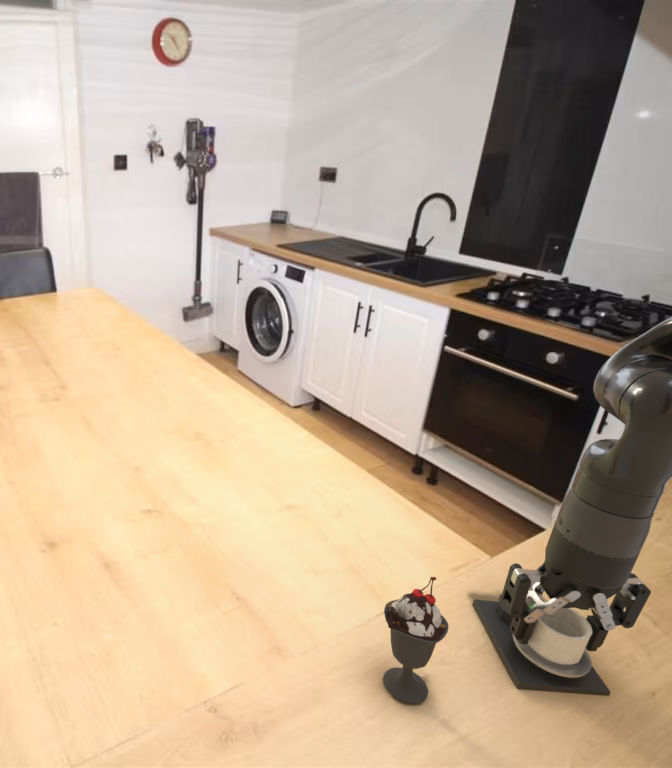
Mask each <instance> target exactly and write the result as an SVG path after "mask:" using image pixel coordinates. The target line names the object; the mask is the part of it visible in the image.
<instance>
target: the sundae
mask: <svg viewBox="0 0 672 768" xmlns="http://www.w3.org/2000/svg"><path fill="white" fill-rule="evenodd" d="M436 580H437V577H436V576H430V578H429V581H428V584H427V585H426V586H424V587H423V588H422V589H420V588H414V589H413V590H412V592H409V593H405V594H403V595H402V596H401V597H399V599H393V600H390V601H388V602H387V603H386V604H385V606H384V610H383V614H384V619H385V622H386V624H387V627H388V628H389V629H390V645H391V646H390V647H391V653H392V655H393V657H394V658H395V660H396V661H397V662H398V663H399V664H401V665H402V667H391V668H388V669H387V670H386V671H385V672H384V673H383V676H382V682H383V685H384V688H385V689H386V691H388V693H389V694H390V695H391V696H392V697H394V699H395V698H396V699H397V700H399V701H401V702H404V703H406V704H419V703H422V702H424V701H425V700H426V699H427V698H428V695H429V689H428V685H427V684H426V682H425V680H424V679H423V678H422V677H421V676H420V675H419V674H417V673H415V672H414V670H418V669H422V668H425V667H426V666H427V665H428V663H429V662H430V659H431V658H432V656H433V653H434V650H435V648H436V645H437V643H440V642H441V641H443V639H444V638H446V635H447V634H448V632H449V622H448V621H447V619H446V618H445V617H444V616H443V614H442V613H441V611H440V608H439V607H438V605H436V602H437V599H436V597H435V596H434V595H433V587H434V586H433V585H434V581H436ZM430 584H431V585H430ZM429 586H430V591H429V593H425V594H424V592H423V591H424V590H426V589H427V588H428V587H429Z"/></svg>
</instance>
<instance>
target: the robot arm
mask: <svg viewBox="0 0 672 768" xmlns="http://www.w3.org/2000/svg"><path fill="white" fill-rule="evenodd" d="M592 393H593V397H594V399H595V401H596V403H598V405H599V406H600V407H601V408H602V409H603V410H605V411H606V412H608V413H609V414H610V415H611V416H613V417H614V418H615V419H617V420H618V421H620V422H621V423H622V424H624V429H623V432H622V435H621V436H620V437H619V439H618V438H617V439H616V438H603V439H599V440H595V441H594V442H592V443H591V444H589V445H588V446H587V448H586V450H585V451H584V453H583V455H582V456H581V459H580V462H579V465H578V468H577V470H576V473H575V475H574V479H573V481H572V483H571V486H570V488H569V490H568V492H567V493H566V495H565V497H564V498H563V501H562V503H561V505H560V508H559V510H558V514H557V516H556V519H555V521H554V524H553V527H552V530H551V533H550V535H549V538H548V541H547V543H546V546H545V551H544V552H545V553H544V561H543V563H542V564H541V565H539V566H538V567H537V569H525V568H523V567H522V565H521V564H520V563H512V564H511V565H510V566H509V569H508V573H507V576H506V579H505V583H504V586H503V589H502V593H501V594H502V596H501V601H502V602H503V604H504V606H505V607H506V609H507V611H508V612H509V614H510V616H511V617H513V619H512V622H511V625H510V630H511V632H512V633H513V635H514V637H515V638H516V639H517V641H518V642H519V644H525V645H527V644H528V642H529V639H530V636H531V634H532V631H533V629H534V626H535V623H534V622H535V621H536V620H538V619H539V618H540V617H542V616H543V615H545V614H548V615H552V614H553V613H554V612H556V611H557V610H559V609H560V608H572V609H574V608H575V609H578V610H581V611H589V610H590V613H591V615H589V614H587V616H586V617H585V618H586V620H587V621H588V622H589V624H590V625H591V628H592V632H593V633H592V636H591V638H590V640H589V642H588V645H587V647H586V650H587V652H597V651H598V649H599V648H601V647H602V646H603V645H604V642H605V640H606V638H607V635H608V634H609V632H610V631H613V630H614V629H615V628H616V627H617V626H618V627H619V626H622V627H623V628H624V629H631V628H633V627H634V626H635V624H636V622H637V620H638V618H639V617H640V615H641V613H642V611H643V609H644V607H645V605H646V603H647V601H648V599H649V598H650V596H651V593H652V590H651V589H649V587H648V586H647V585H646V584H645V583H644V581H642V580H641V579H640V578H639V577H638V576H637V575H636V574H635V573H633V572H632V571H633V569H634V567H635V564H636V562H637V560H638V558H639V557H640V554H641V551H642V550H643V548H644V545H645V543H646V541H647V539H648V536H649V535H650V534H649V533H650V530H651V526H652V522H653V517H654V515H655V513H656V510H657V508H658V506H659V505H660V501H661V500H662V497H663V495H664V493H665V491H666V488H667V485H668V483H669V482H670V480H671V479H672V315H671V316H670V317H668V318H666V319H664V320H662V321H661V322H659V323H657V324H655V325H654V326H653V327H651V328H650V329H648V330H647V331H646V332H644V333H642V334H641V335H639V336H638V337H636V338H635V339H632V340H631V341H630V342H628V343H626V344H625V345H624V346H622V347H621V348H620V349H618V350H617V351H616V352H614V353H613V354H612V355H611V356H609V358H608V359H607V360H605V362H604V363H603V364H602V365H601V367H600V368H599V370H598V372H597V374H596V376H595V378H594V381H593V386H592ZM544 592H545V594H546V595H547V597H548V598H549V600H546V599H545V598H544V596H543V594H544ZM612 597H613V599H612V601H611V603H610V605H609V602H608V599H610V598H612ZM546 601H548V602H546ZM533 603H536V606H535V607H533V608H532V609H531V610H530V608H529V606H531V605H532V604H533Z"/></svg>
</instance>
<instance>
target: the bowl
mask: <svg viewBox="0 0 672 768" xmlns="http://www.w3.org/2000/svg"><path fill="white" fill-rule="evenodd" d="M548 601H549V600H546V602H548ZM535 606H536V604H535V605H534V606H533V607H535ZM586 618H587V617H585V616H584V615H582V614H581V613H579V612H578V611H577V610H576V609H574V608H560V609H559V610H557V611H556V612H554V613H553V614H552V615H548V614H545V615H543V616H542V617H540V618H539V619H538V620H536V621H535V622H534V623H535V626H534V629H533V631H532V634H531V636H530V639H529V642H528V644H529V645H530V647H531V648H532V649H533V650H534V651H535V652H536V653H537V654H539V655H540V656H542V657H543V658H545V659H547V660H549V661H551V662H554V663H557V664H564V665H566V664H568V665H572V664H575V663H578V662H579V661H580V659H581V658H582V656H583V654H584V651H585V649H586V647H587V645H588V642H589V640H590V638H591V636H592V633H593V632H592V628H591V625H590V624H589V622H588V621H587V620H586ZM586 650H587V649H586Z"/></svg>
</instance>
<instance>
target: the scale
mask: <svg viewBox="0 0 672 768" xmlns="http://www.w3.org/2000/svg"><path fill="white" fill-rule="evenodd" d="M501 596H502V593H501V594H500V595H499V597H498V600H486V599H473V601H472V607H473V609H474V611H475V613H476V615H477V617H478V619H479V621H480V622H481V624H482V626H483V628H484V630H485V633H486V634H487V636H488V638H489V640H490V642H491V644H492V646H493V648H494V650H495V652H496V654H497V656H498V657H499V660H500V662H501V663H502V665H503V668H504V669H505V671H506V673H507V674H508V676H509V678H510V680H511V681H512V684H513V685H514V687H515V689H516V690H523V691H524V690H525V691H538V692H551V693H563V694H564V693H565V694H578V695H579V694H580V695H591V696H607V697H609V696H610V695H611V690H610V689H609V688H608V686H607V684H606V683H605V681H603V679H602V678H601V676H600V675H599V673H598V672H597V670H596V668H594V665H591V669H590V671H589V672H588V674H586V675H585V676H582V677H578V678H568V677H562V676H558V675H555V674H552V673H550V672H548V671H546V670H544V669H542V668H540V667H538V666H537V665H535V664H534V663H532V662H531V661H530V660H528V659H527V658H526V657H525V656H524V655H523V654H522V653H521V652H520V651H519V649H518V648H517V646H516V645H515V643H514V640H513V636H512V634H513V633H512V632H511V630H510V625H511V622H512V619H513V617H511V616H510V614H509V612H508V611H507V609H506V607H505V606H504V604H503V602H502V601H501Z"/></svg>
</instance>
